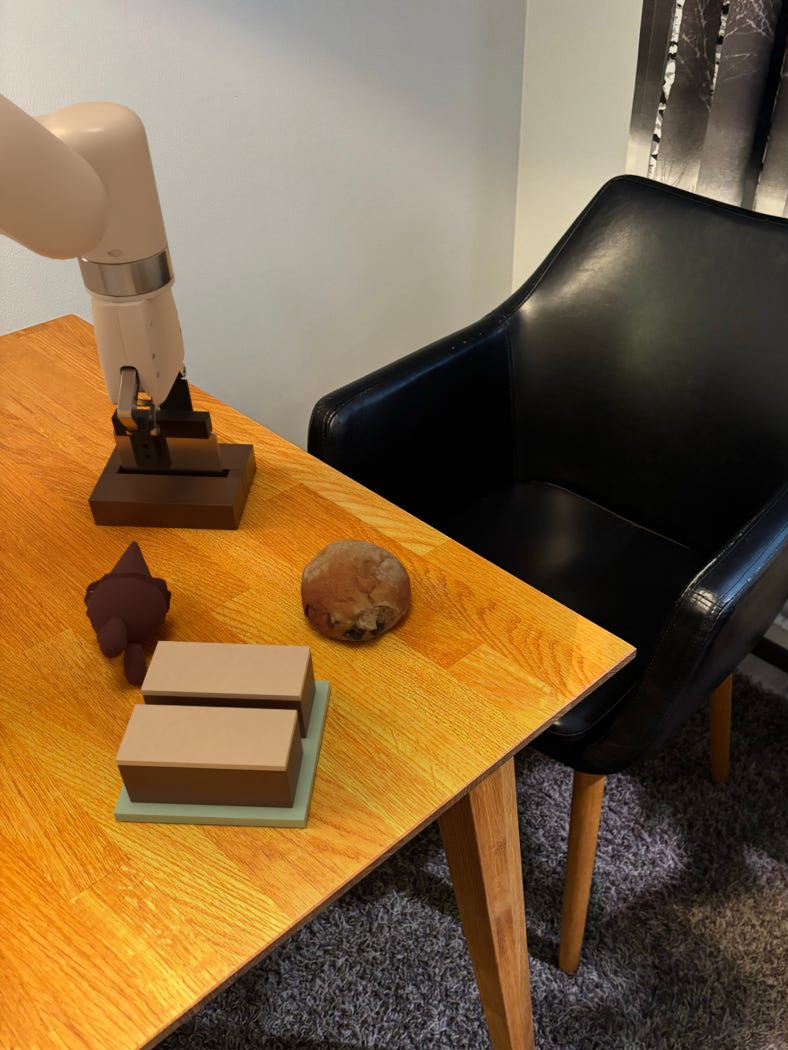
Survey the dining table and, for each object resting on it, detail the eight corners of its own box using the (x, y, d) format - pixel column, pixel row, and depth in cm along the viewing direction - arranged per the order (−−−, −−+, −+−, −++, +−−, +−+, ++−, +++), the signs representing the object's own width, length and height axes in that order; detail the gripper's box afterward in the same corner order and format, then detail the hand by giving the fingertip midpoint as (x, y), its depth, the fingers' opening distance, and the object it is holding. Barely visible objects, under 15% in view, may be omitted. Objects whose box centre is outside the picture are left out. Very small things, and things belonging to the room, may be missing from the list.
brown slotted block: (95, 525, 99) (87, 500, 96) (125, 463, 106) (118, 439, 104) (237, 530, 99) (232, 505, 96) (257, 468, 106) (253, 444, 104)
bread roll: (418, 619, 95) (425, 538, 93) (393, 655, 86) (400, 565, 83) (317, 605, 96) (321, 524, 94) (282, 638, 87) (285, 549, 84)
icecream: (75, 526, 88) (55, 656, 79) (155, 504, 88) (143, 632, 78) (114, 577, 94) (99, 705, 84) (189, 557, 93) (182, 683, 83)
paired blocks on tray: (116, 821, 74) (96, 770, 70) (163, 682, 84) (148, 631, 80) (305, 828, 74) (297, 778, 70) (330, 688, 84) (324, 637, 80)
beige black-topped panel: (127, 499, 102) (105, 417, 95) (132, 488, 103) (111, 407, 96) (225, 502, 102) (210, 421, 95) (229, 492, 103) (214, 411, 96)
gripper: (112, 224, 92) (151, 392, 104) (49, 312, 79) (102, 492, 92) (193, 226, 92) (223, 394, 104) (143, 316, 79) (184, 494, 92)
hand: (166, 439), depth 98 cm, fingers open, 8 cm apart
